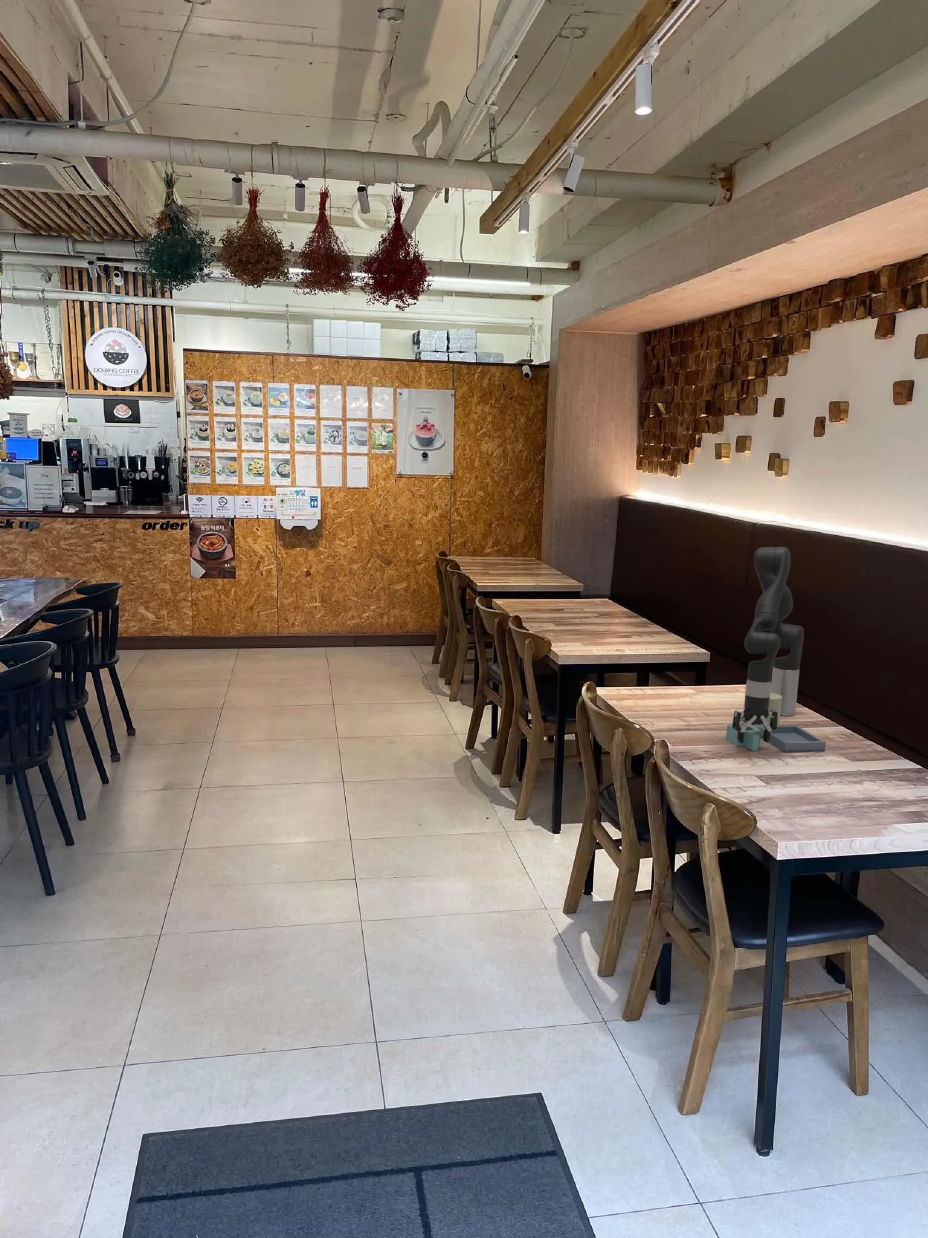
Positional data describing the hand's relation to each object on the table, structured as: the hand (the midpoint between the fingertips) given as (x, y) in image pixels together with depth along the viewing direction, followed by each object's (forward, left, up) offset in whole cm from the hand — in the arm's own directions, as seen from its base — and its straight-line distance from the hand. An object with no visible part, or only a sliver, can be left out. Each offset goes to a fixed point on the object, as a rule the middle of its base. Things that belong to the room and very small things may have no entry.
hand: (753, 742), depth 281 cm
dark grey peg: (-7, 0, -2) cm, 7 cm away
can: (-22, +16, -3) cm, 28 cm away
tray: (-5, +16, -2) cm, 17 cm away
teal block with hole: (-5, 0, -2) cm, 5 cm away
